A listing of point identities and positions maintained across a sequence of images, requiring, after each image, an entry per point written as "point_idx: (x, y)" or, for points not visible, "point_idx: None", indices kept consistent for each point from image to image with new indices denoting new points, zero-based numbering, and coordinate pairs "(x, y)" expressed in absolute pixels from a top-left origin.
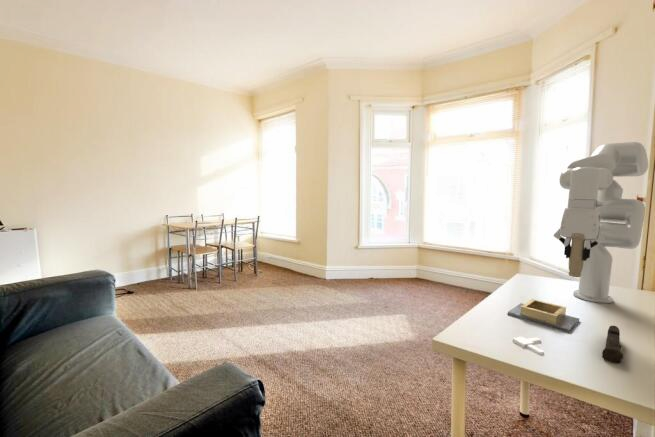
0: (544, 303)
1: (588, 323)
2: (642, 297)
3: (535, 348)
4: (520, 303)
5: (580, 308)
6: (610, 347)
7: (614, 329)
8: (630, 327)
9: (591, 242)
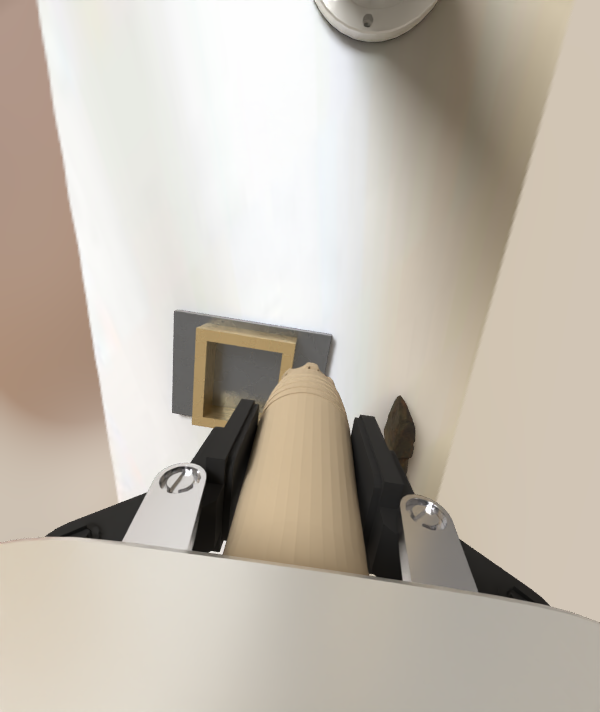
0: (236, 344)
1: (352, 332)
2: None
3: None
4: (174, 315)
5: (333, 188)
6: None
7: (404, 447)
8: (453, 284)
9: (467, 587)
